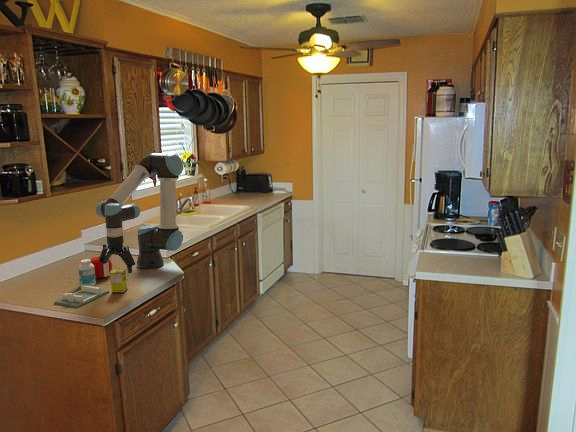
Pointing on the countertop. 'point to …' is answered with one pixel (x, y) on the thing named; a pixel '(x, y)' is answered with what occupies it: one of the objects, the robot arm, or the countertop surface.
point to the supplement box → (118, 280)
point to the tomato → (100, 267)
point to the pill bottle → (87, 273)
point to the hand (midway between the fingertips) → (117, 277)
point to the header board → (81, 296)
